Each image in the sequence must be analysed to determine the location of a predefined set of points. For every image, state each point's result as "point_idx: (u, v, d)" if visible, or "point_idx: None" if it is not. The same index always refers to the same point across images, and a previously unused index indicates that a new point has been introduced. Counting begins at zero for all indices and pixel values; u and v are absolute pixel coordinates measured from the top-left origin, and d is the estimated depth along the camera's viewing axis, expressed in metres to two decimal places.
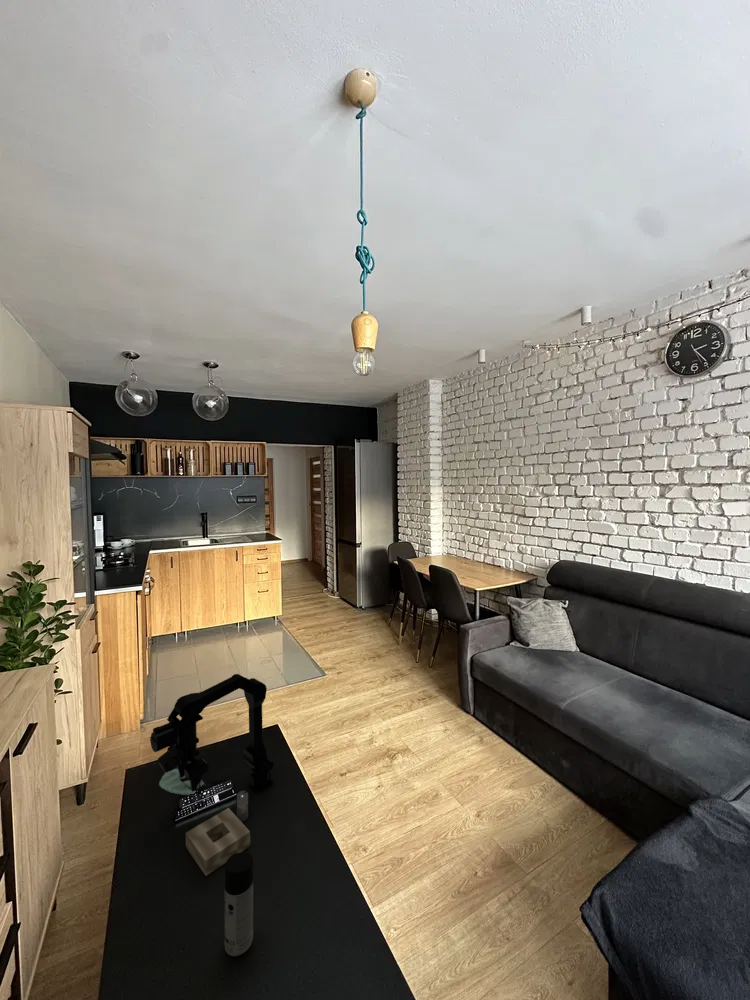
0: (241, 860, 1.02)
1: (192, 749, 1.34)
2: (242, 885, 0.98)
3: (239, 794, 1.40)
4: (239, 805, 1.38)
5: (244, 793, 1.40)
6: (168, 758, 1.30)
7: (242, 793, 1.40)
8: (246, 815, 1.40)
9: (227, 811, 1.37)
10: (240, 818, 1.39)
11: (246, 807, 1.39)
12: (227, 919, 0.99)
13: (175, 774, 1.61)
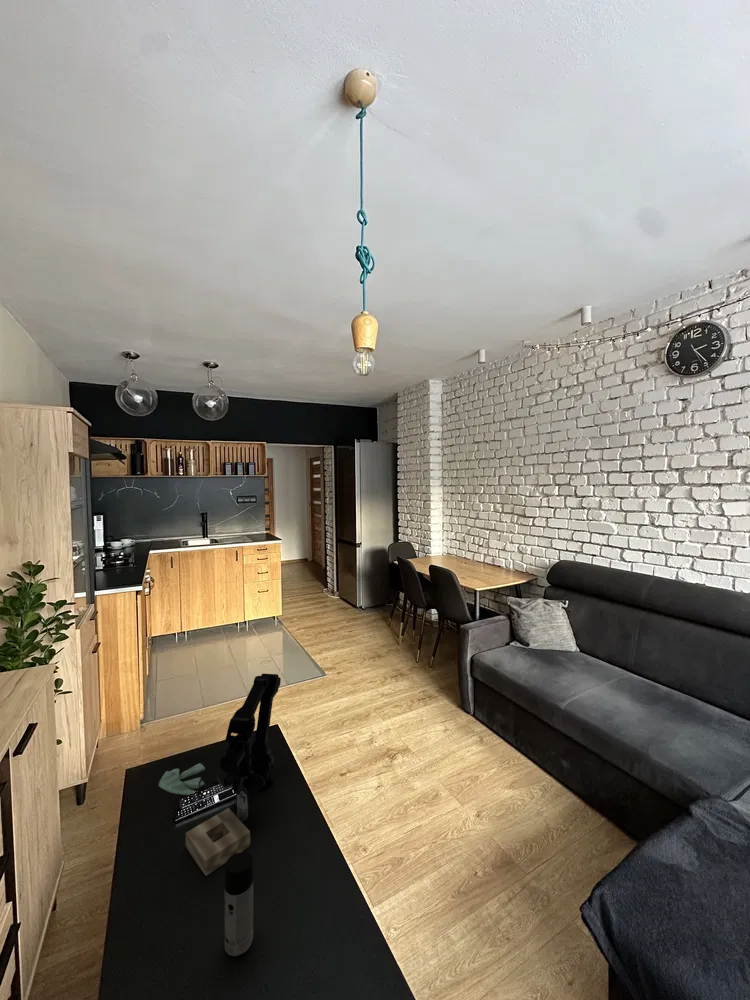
0: (241, 860, 1.02)
1: (248, 764, 1.39)
2: (242, 885, 0.98)
3: (239, 794, 1.40)
4: (239, 805, 1.38)
5: (244, 793, 1.40)
6: (226, 773, 1.35)
7: (242, 793, 1.40)
8: (246, 815, 1.40)
9: (227, 811, 1.37)
10: (240, 818, 1.39)
11: (246, 807, 1.39)
12: (227, 919, 0.99)
13: (175, 774, 1.61)
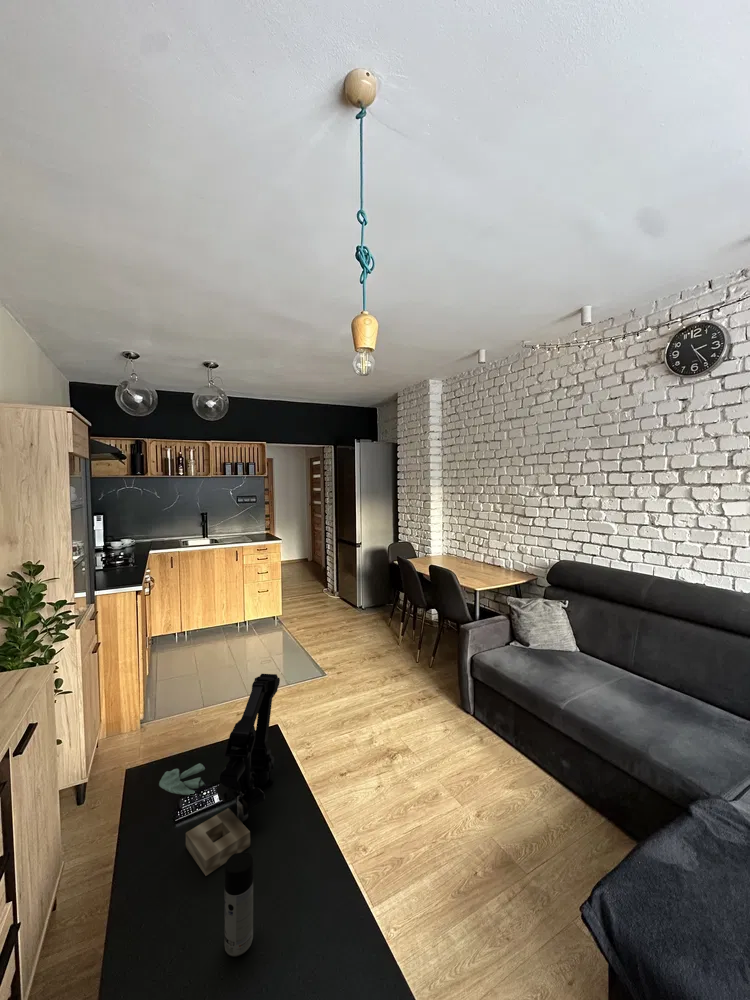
0: (241, 860, 1.02)
1: (248, 778, 1.39)
2: (242, 885, 0.98)
3: (239, 794, 1.40)
4: (239, 805, 1.38)
5: None
6: (226, 788, 1.35)
7: None
8: (246, 815, 1.40)
9: (227, 811, 1.37)
10: (240, 818, 1.39)
11: None
12: (227, 919, 0.99)
13: (175, 774, 1.61)
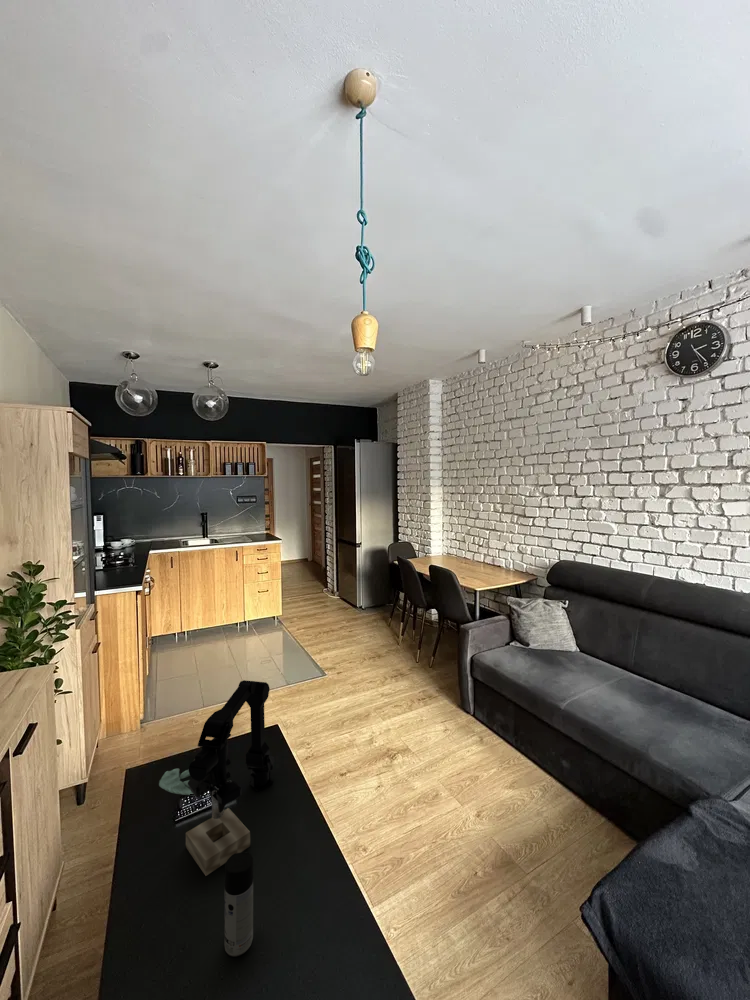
0: (241, 860, 1.02)
1: (224, 771, 1.27)
2: (242, 885, 0.98)
3: (214, 789, 1.28)
4: (214, 800, 1.27)
5: None
6: (199, 781, 1.23)
7: None
8: (222, 812, 1.28)
9: (227, 811, 1.37)
10: (215, 815, 1.27)
11: None
12: (227, 919, 0.99)
13: (175, 774, 1.61)
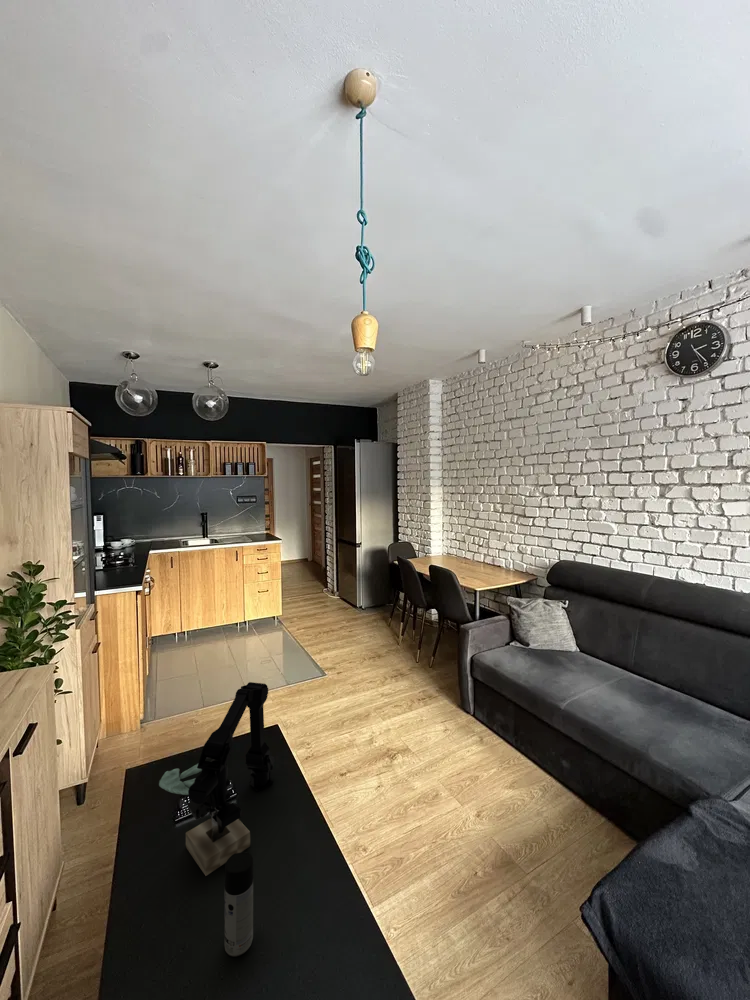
0: (241, 860, 1.02)
1: (224, 793, 1.27)
2: (242, 885, 0.98)
3: (214, 810, 1.29)
4: (214, 822, 1.27)
5: None
6: (199, 803, 1.23)
7: None
8: (222, 833, 1.28)
9: None
10: (215, 836, 1.27)
11: None
12: (227, 919, 0.99)
13: (175, 774, 1.61)
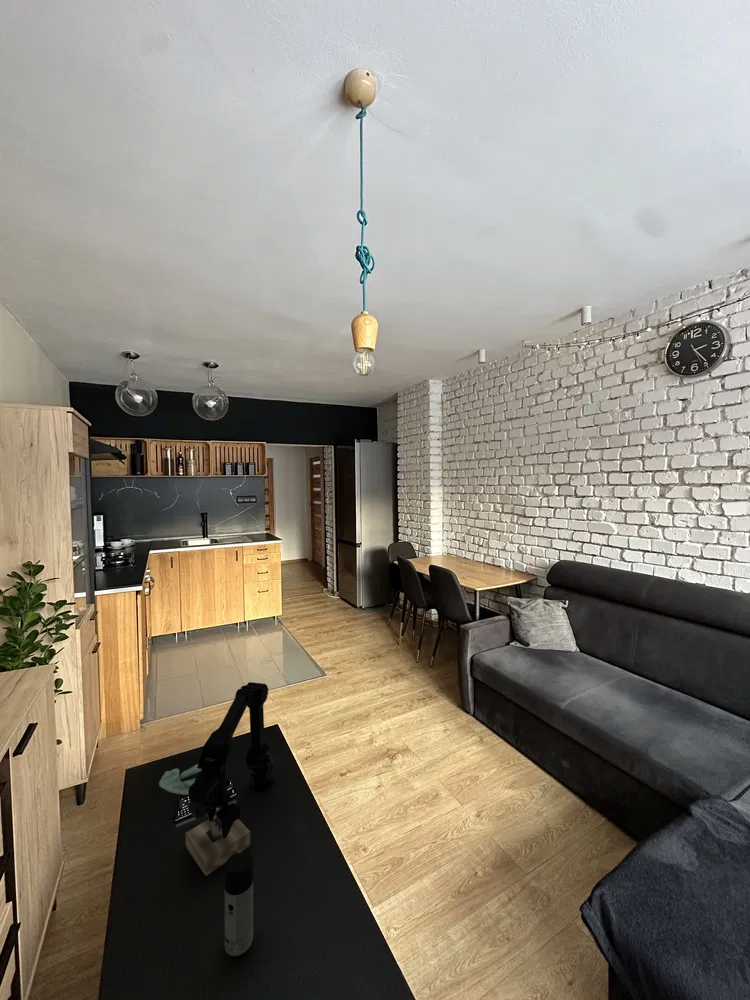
0: (241, 860, 1.02)
1: (224, 793, 1.27)
2: (242, 885, 0.98)
3: (214, 821, 1.29)
4: (214, 833, 1.27)
5: None
6: (199, 804, 1.23)
7: None
8: None
9: None
10: None
11: (222, 835, 1.28)
12: (227, 919, 0.99)
13: (175, 774, 1.61)
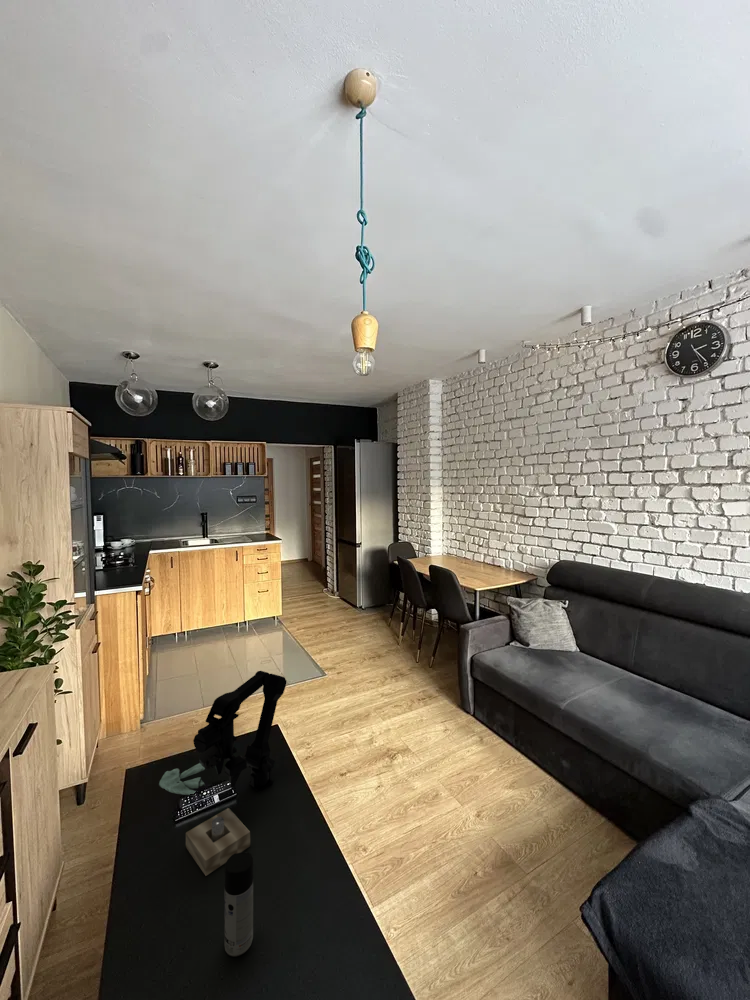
0: (241, 860, 1.02)
1: (231, 747, 1.40)
2: (242, 885, 0.98)
3: (214, 821, 1.29)
4: (214, 833, 1.27)
5: (220, 820, 1.29)
6: (208, 756, 1.36)
7: (217, 820, 1.29)
8: None
9: (227, 811, 1.37)
10: None
11: (222, 835, 1.28)
12: (227, 919, 0.99)
13: (175, 774, 1.61)
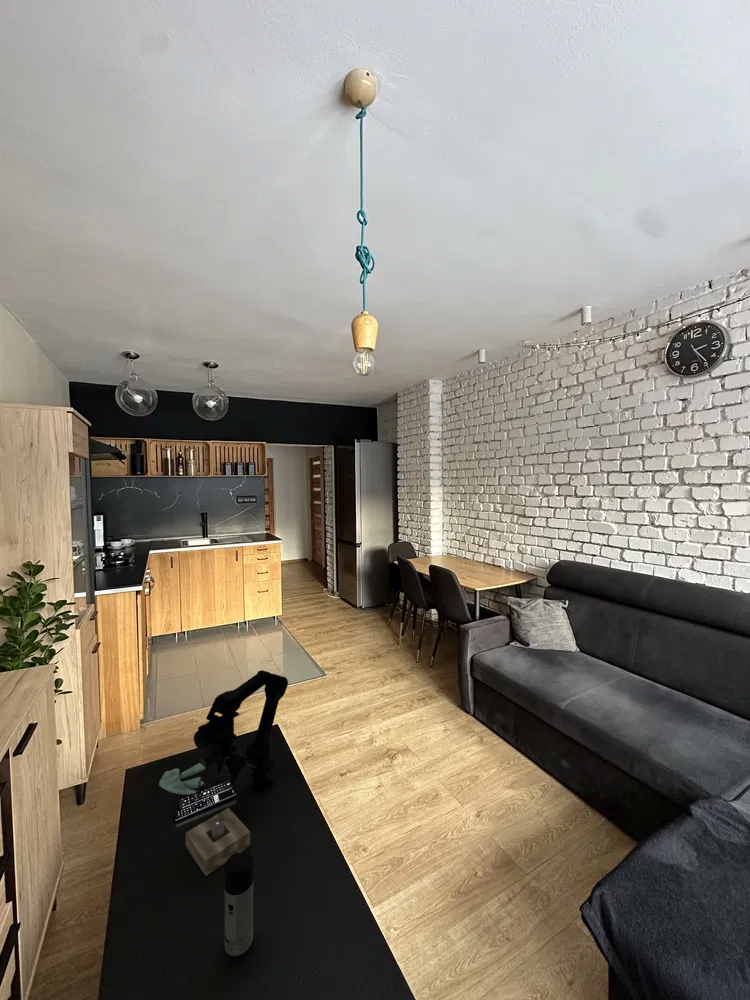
0: (241, 860, 1.02)
1: (231, 745, 1.40)
2: (242, 885, 0.98)
3: (214, 821, 1.29)
4: (214, 833, 1.27)
5: (220, 820, 1.29)
6: (208, 753, 1.36)
7: (217, 820, 1.29)
8: None
9: (227, 811, 1.37)
10: None
11: (222, 835, 1.28)
12: (227, 919, 0.99)
13: (175, 774, 1.61)
